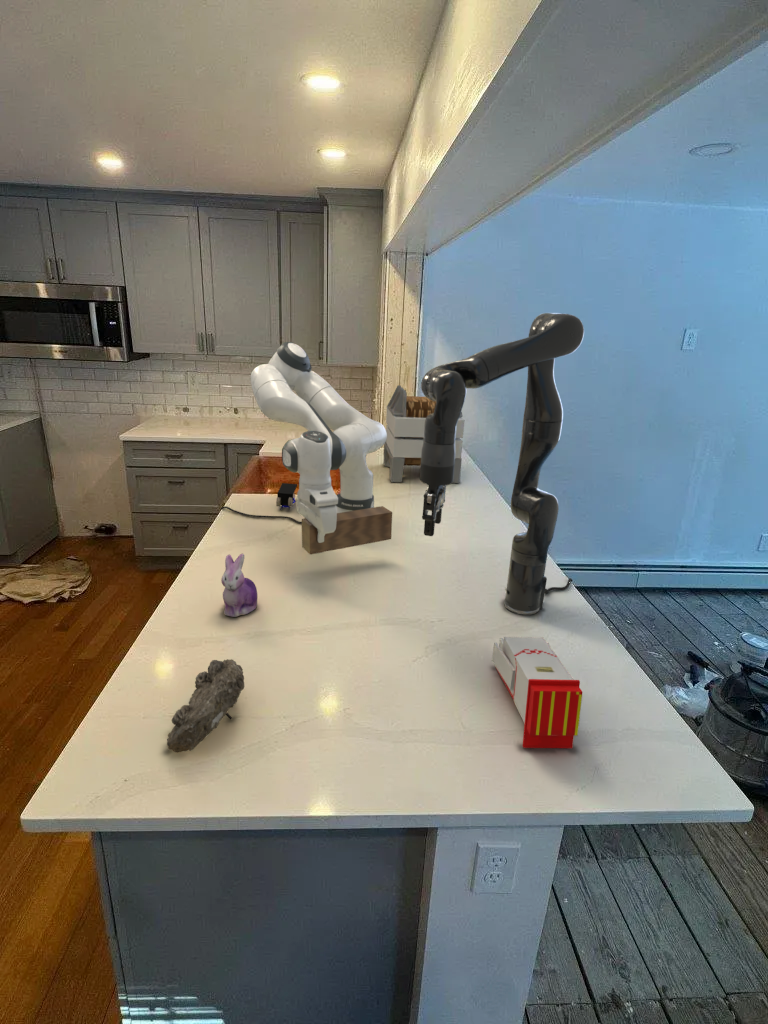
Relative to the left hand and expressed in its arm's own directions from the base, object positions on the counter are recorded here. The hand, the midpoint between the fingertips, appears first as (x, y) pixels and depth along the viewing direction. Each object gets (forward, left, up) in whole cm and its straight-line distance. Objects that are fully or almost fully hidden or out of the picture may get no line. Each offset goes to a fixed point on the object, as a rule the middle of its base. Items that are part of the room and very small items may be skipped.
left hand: (315, 537), depth 161 cm
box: (+7, +7, -4) cm, 11 cm away
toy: (+62, -37, -13) cm, 74 cm away
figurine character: (-34, +53, -13) cm, 64 cm away
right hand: (+36, -17, +14) cm, 43 cm away
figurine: (-11, -24, -13) cm, 29 cm away
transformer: (+4, +122, -13) cm, 122 cm away
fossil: (+5, -62, -13) cm, 63 cm away
